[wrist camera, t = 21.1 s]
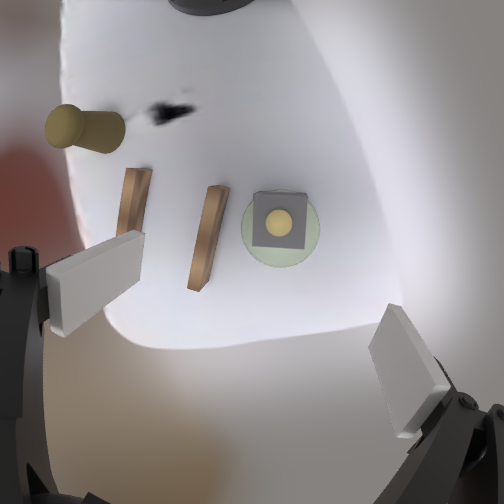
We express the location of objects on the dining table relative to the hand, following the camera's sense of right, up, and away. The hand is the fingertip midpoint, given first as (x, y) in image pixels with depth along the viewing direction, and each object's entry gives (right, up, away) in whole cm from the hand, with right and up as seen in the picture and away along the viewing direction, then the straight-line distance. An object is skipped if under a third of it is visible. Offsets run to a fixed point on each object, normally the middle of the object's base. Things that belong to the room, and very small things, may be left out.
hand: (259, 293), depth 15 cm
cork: (-20, +19, +20) cm, 34 cm away
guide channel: (-10, +6, +22) cm, 25 cm away
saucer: (+3, +5, +20) cm, 21 cm away
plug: (+3, +6, +19) cm, 20 cm away
